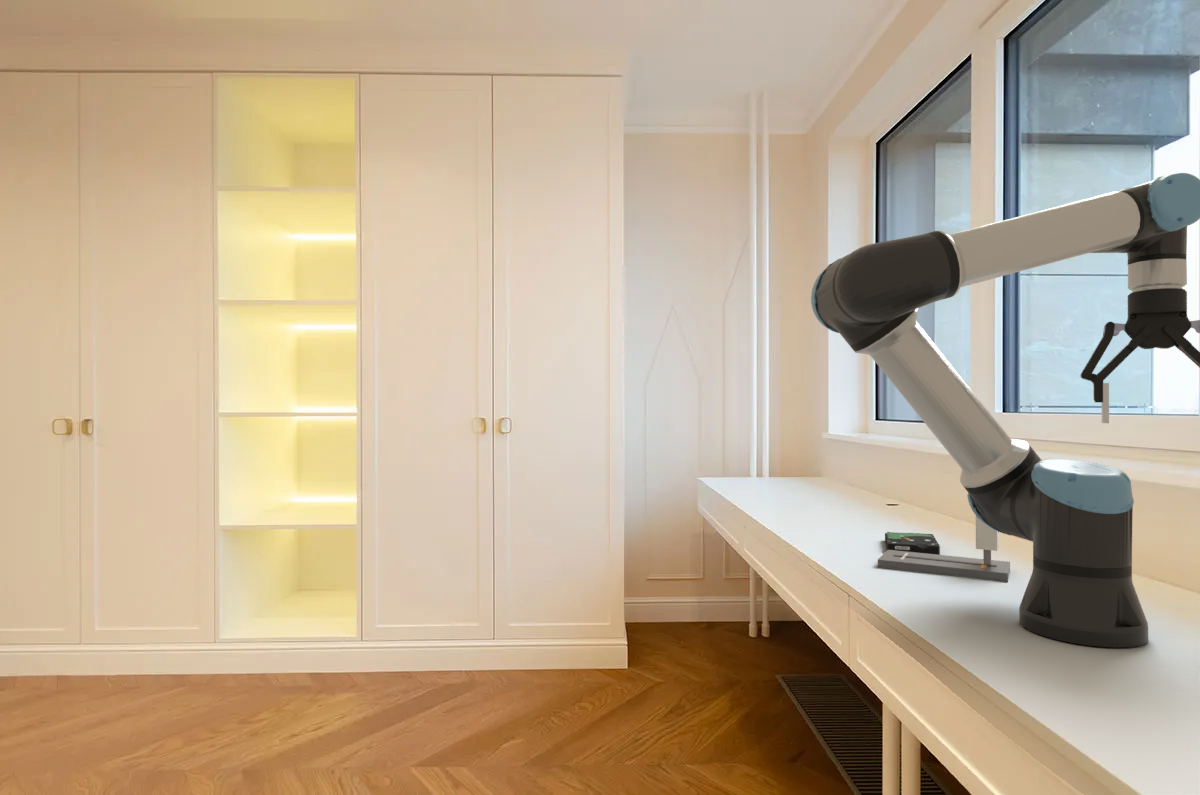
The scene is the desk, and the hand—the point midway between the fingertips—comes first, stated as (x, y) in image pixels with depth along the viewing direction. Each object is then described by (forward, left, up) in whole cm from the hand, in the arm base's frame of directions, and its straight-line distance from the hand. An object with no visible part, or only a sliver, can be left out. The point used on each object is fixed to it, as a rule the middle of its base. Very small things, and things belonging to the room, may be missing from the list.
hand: (1157, 424), depth 117 cm
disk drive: (+28, +40, -29) cm, 57 cm away
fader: (+10, +25, -27) cm, 38 cm away
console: (+10, +32, -29) cm, 44 cm away
